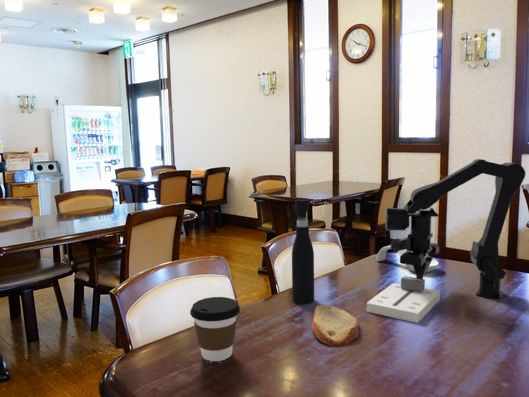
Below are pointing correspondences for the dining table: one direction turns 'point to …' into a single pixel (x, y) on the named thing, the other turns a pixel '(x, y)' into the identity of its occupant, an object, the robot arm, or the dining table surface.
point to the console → (403, 303)
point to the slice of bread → (334, 326)
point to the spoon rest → (382, 255)
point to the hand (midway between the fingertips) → (419, 280)
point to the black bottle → (302, 258)
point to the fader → (412, 284)
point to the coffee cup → (215, 326)
